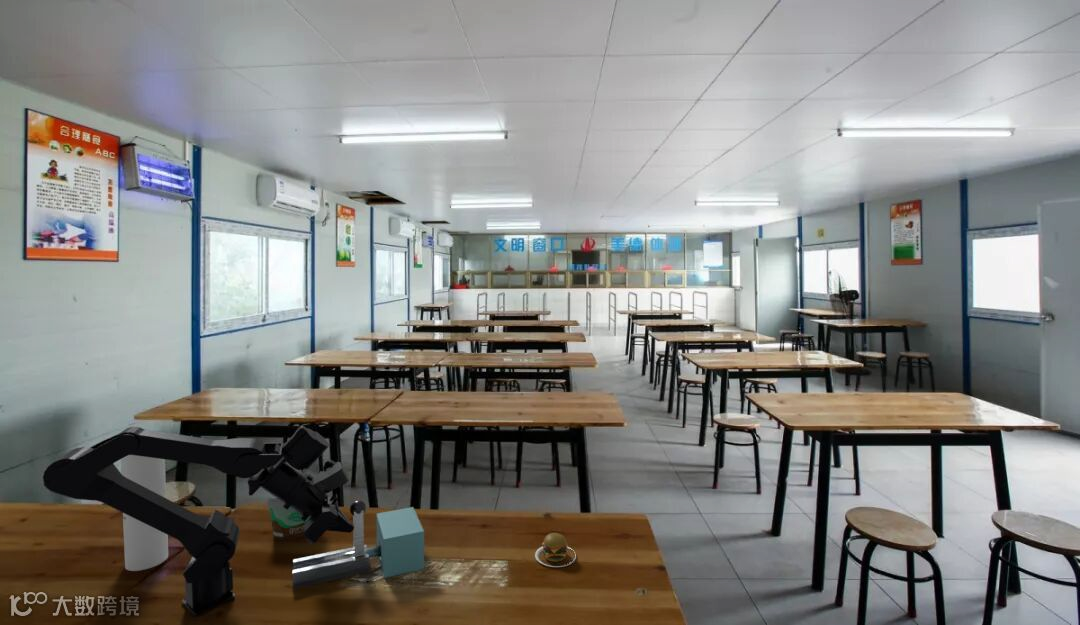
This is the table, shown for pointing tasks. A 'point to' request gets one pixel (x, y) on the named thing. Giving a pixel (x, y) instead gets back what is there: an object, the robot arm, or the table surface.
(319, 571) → the outer sleeve
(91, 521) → the table surface
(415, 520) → the socket block
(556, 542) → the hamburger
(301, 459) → the robot arm
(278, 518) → the food container
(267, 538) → the table surface
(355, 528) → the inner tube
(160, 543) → the cylindrical container
